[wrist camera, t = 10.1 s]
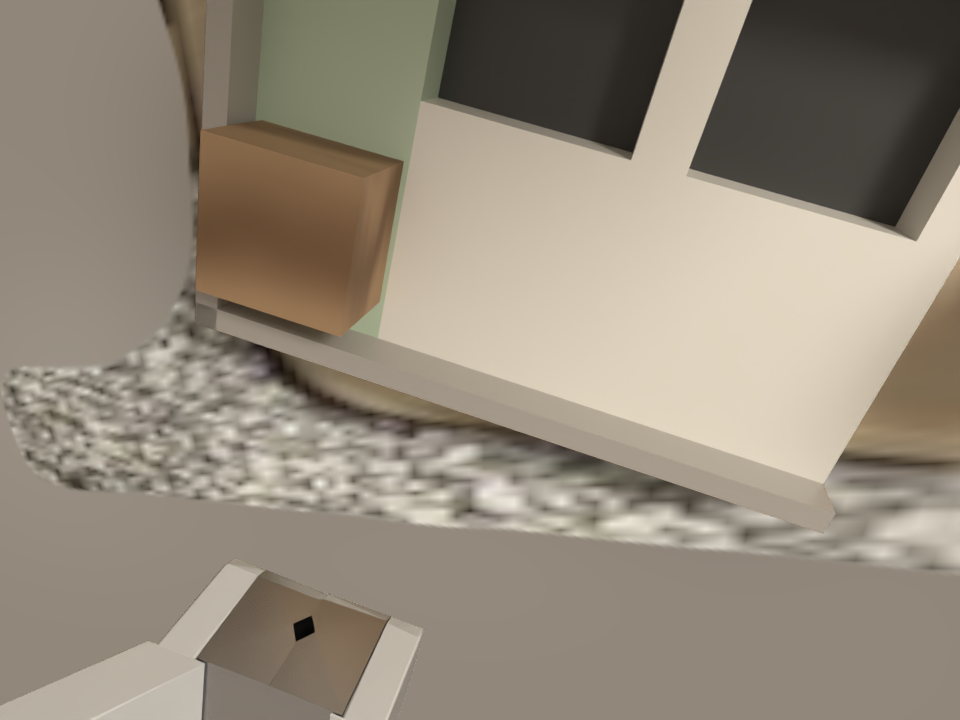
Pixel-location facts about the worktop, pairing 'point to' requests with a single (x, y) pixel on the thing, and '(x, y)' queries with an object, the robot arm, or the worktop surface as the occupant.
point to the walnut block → (294, 223)
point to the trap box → (629, 213)
